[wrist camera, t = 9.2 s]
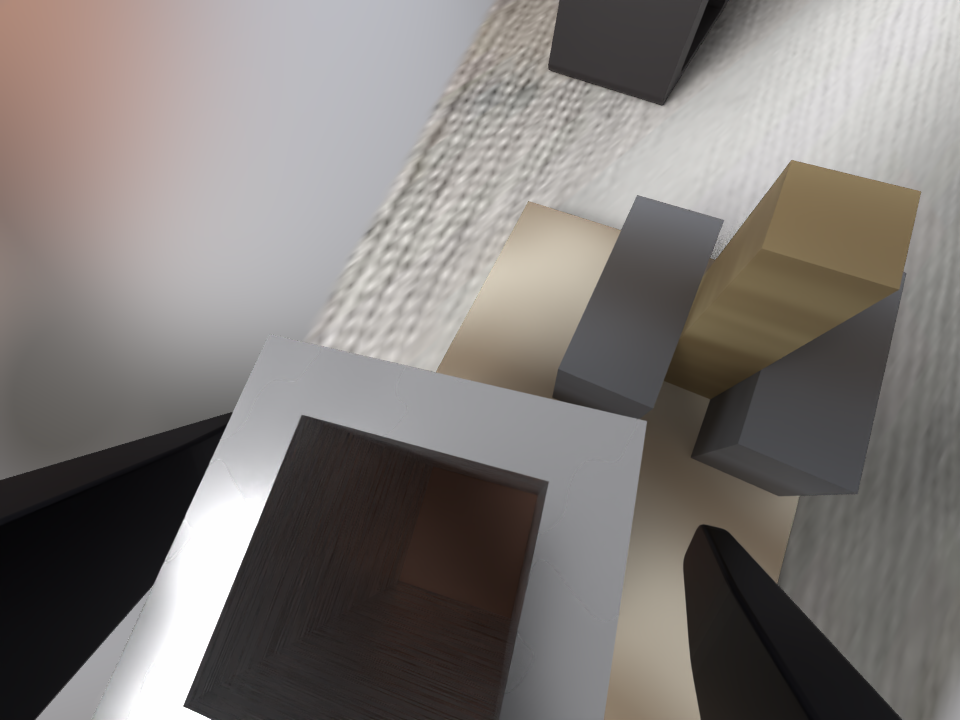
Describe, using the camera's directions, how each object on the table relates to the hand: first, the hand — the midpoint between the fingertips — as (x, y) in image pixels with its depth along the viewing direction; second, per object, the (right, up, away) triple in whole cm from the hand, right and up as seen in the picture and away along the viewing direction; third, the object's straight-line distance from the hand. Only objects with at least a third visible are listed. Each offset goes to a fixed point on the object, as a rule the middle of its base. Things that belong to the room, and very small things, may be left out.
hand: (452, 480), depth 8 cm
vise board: (+4, -1, +6) cm, 8 cm away
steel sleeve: (0, -3, +4) cm, 5 cm away
